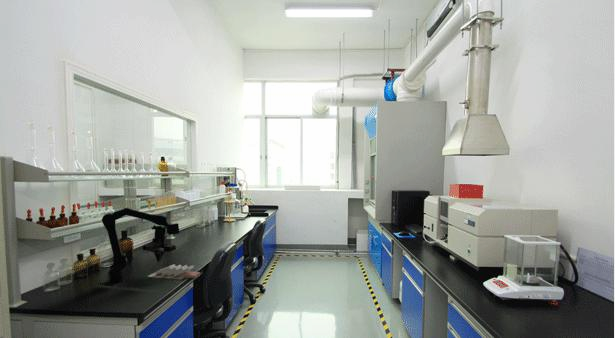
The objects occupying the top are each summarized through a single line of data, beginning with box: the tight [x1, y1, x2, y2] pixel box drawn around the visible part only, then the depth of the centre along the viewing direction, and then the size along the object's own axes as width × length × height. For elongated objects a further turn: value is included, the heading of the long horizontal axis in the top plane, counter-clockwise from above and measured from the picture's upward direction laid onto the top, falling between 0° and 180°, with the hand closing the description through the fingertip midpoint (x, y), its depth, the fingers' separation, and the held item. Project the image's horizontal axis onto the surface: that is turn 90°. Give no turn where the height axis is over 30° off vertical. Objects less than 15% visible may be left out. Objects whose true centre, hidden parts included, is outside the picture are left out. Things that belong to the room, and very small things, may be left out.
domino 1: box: [154, 263, 176, 275], centre depth 152 cm, size 2×5×10 cm
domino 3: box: [167, 264, 189, 276], centre depth 150 cm, size 2×5×10 cm
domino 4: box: [174, 264, 195, 276], centre depth 150 cm, size 2×5×10 cm
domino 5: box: [180, 270, 201, 279], centre depth 149 cm, size 2×5×10 cm
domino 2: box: [161, 264, 183, 275], centre depth 151 cm, size 2×5×10 cm
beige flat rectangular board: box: [147, 272, 185, 280], centre depth 151 cm, size 22×11×1 cm, turn 81°
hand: (158, 261), depth 152 cm, fingers closed
